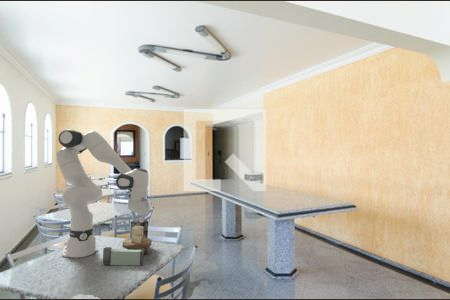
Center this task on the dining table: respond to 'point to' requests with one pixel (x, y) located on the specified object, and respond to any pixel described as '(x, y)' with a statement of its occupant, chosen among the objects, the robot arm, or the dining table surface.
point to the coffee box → (138, 223)
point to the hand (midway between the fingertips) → (137, 220)
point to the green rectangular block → (122, 256)
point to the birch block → (137, 234)
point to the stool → (137, 245)
